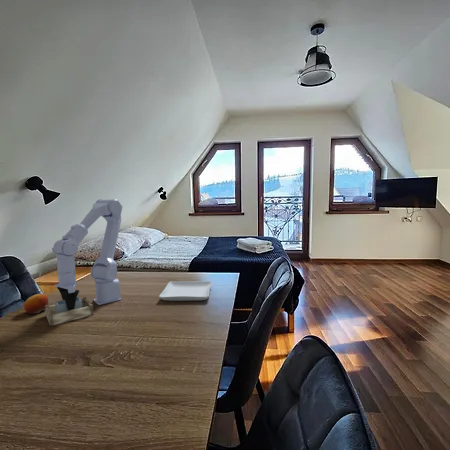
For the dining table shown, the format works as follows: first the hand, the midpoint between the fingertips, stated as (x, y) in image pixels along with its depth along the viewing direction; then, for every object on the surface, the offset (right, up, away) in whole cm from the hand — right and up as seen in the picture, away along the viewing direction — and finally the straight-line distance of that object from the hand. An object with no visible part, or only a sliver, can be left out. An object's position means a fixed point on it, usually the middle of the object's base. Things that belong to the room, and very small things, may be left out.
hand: (69, 306), depth 103 cm
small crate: (0, -3, 0) cm, 3 cm away
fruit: (-15, -4, +5) cm, 16 cm away
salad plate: (+42, -2, +22) cm, 47 cm away
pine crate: (0, -3, 0) cm, 3 cm away
